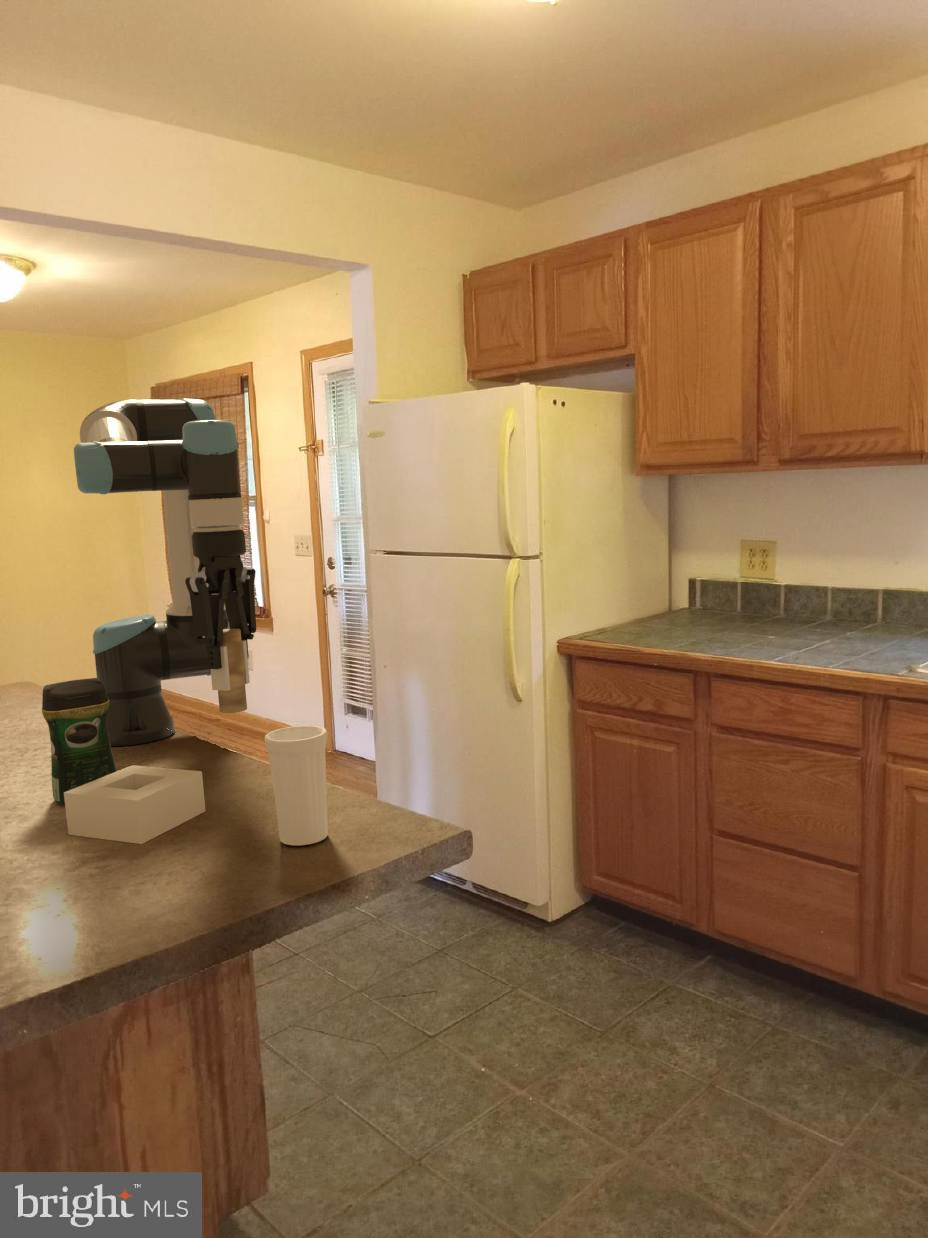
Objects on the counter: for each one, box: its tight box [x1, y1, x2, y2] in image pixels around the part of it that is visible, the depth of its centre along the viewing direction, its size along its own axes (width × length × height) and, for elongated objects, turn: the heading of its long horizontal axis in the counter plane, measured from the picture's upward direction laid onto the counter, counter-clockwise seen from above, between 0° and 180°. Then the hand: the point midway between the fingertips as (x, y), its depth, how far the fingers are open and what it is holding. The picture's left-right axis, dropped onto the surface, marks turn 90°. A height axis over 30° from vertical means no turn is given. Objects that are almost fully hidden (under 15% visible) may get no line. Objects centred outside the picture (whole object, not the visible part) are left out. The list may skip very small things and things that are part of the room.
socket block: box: [64, 764, 207, 845], centre depth 128 cm, size 13×13×6 cm
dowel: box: [214, 629, 248, 714], centre depth 135 cm, size 4×4×12 cm
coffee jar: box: [41, 677, 118, 806], centre depth 140 cm, size 10×8×19 cm
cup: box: [264, 725, 329, 846], centre depth 118 cm, size 8×8×14 cm
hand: (231, 686), depth 135 cm, fingers closed on dowel, 4 cm apart
